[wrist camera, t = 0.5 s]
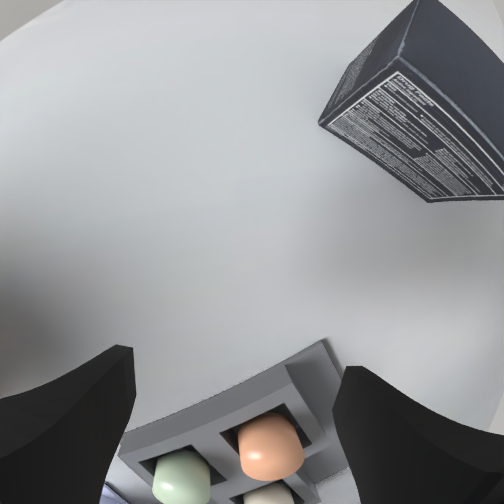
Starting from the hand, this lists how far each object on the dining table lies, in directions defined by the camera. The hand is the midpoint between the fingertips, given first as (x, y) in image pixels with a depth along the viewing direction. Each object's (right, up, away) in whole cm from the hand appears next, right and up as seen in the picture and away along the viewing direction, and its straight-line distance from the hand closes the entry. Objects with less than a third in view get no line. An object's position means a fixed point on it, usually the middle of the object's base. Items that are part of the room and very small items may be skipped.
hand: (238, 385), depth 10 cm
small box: (+11, +13, +10) cm, 20 cm away
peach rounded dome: (+1, -8, +9) cm, 13 cm away
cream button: (+2, -16, +10) cm, 19 cm away
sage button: (-5, -12, +9) cm, 16 cm away
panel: (+1, -12, +12) cm, 17 cm away
